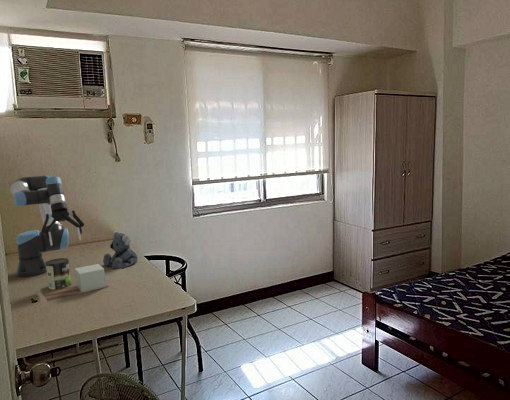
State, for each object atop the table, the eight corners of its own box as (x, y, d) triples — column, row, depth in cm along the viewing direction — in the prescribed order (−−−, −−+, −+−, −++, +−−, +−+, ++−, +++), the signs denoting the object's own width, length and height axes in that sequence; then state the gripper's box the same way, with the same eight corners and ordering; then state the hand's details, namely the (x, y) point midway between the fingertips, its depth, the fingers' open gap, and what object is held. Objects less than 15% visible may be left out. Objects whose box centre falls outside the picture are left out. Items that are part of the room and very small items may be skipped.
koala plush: (101, 265, 238) (98, 232, 235) (130, 258, 250) (127, 227, 248) (115, 271, 225) (112, 236, 223) (144, 263, 238) (141, 230, 235)
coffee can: (75, 284, 205) (72, 257, 203) (65, 292, 195) (62, 263, 193) (55, 285, 205) (52, 258, 203) (44, 292, 195) (41, 264, 193)
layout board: (43, 295, 191) (43, 292, 190) (103, 282, 206) (102, 279, 205) (47, 304, 180) (47, 300, 180) (110, 289, 195) (109, 286, 195)
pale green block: (76, 286, 198) (74, 268, 196) (100, 281, 204) (98, 263, 203) (81, 292, 189) (79, 273, 187) (106, 287, 195) (104, 268, 194)
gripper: (31, 204, 204) (39, 244, 198) (84, 198, 217) (92, 235, 212) (31, 210, 210) (38, 249, 204) (82, 204, 223) (90, 240, 217)
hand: (66, 242), depth 208 cm, fingers open, 13 cm apart
